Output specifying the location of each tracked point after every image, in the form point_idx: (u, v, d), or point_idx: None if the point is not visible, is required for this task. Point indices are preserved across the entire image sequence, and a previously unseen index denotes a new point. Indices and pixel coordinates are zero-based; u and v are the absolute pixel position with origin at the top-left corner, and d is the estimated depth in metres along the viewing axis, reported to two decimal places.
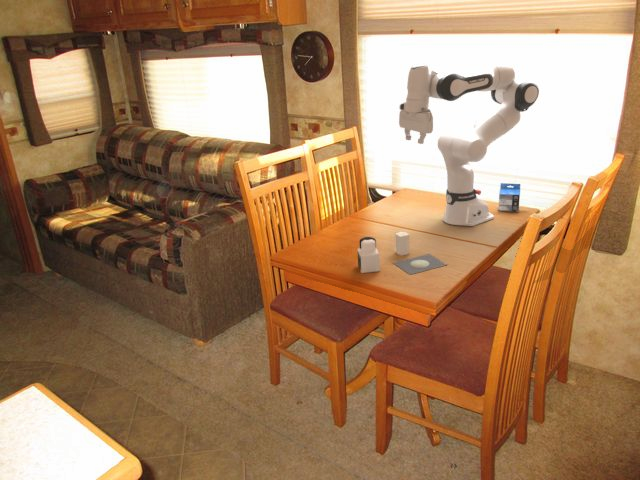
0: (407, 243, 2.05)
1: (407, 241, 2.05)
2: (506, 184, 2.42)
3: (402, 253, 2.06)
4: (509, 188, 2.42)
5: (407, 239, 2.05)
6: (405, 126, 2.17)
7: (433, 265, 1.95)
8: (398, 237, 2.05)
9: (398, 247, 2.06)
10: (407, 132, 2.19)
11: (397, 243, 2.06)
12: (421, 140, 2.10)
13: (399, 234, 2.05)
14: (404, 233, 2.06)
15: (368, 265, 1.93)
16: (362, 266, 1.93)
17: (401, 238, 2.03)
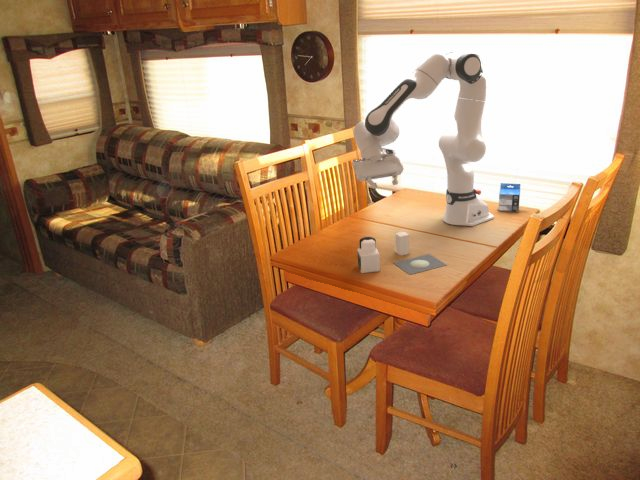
0: (407, 243, 2.05)
1: (407, 241, 2.05)
2: (506, 184, 2.42)
3: (402, 253, 2.06)
4: (509, 188, 2.42)
5: (407, 239, 2.05)
6: None
7: (433, 265, 1.95)
8: (398, 237, 2.05)
9: (398, 247, 2.06)
10: (394, 177, 2.13)
11: (397, 243, 2.06)
12: (372, 185, 2.09)
13: (399, 234, 2.05)
14: (404, 233, 2.06)
15: (368, 265, 1.93)
16: (362, 266, 1.93)
17: (401, 238, 2.03)
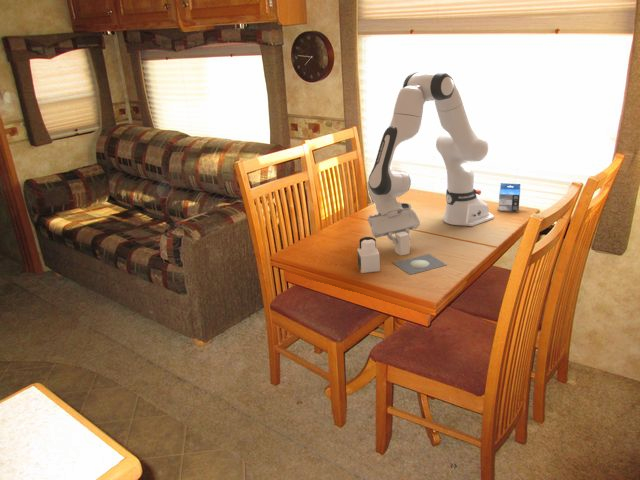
0: (407, 243, 2.05)
1: (407, 241, 2.05)
2: (506, 184, 2.42)
3: (402, 253, 2.06)
4: (509, 188, 2.42)
5: (407, 239, 2.05)
6: None
7: (433, 265, 1.95)
8: (398, 237, 2.05)
9: (398, 247, 2.06)
10: None
11: (397, 243, 2.06)
12: (393, 240, 2.06)
13: (399, 234, 2.05)
14: (404, 233, 2.06)
15: (368, 265, 1.93)
16: (362, 266, 1.93)
17: (401, 238, 2.03)
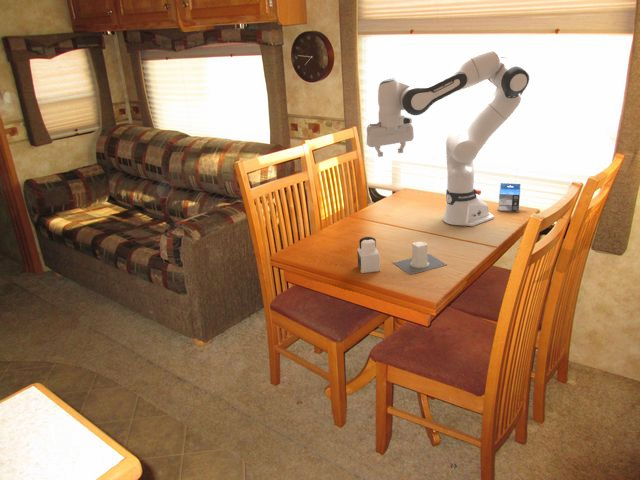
0: (425, 254, 1.95)
1: (425, 251, 1.94)
2: (506, 184, 2.42)
3: (420, 264, 1.95)
4: (509, 188, 2.42)
5: (425, 249, 1.94)
6: None
7: (433, 265, 1.95)
8: (415, 247, 1.94)
9: (415, 258, 1.95)
10: (401, 145, 2.18)
11: (414, 253, 1.95)
12: (378, 153, 2.15)
13: (416, 244, 1.94)
14: (422, 243, 1.95)
15: (368, 265, 1.93)
16: (362, 266, 1.93)
17: (418, 248, 1.93)
